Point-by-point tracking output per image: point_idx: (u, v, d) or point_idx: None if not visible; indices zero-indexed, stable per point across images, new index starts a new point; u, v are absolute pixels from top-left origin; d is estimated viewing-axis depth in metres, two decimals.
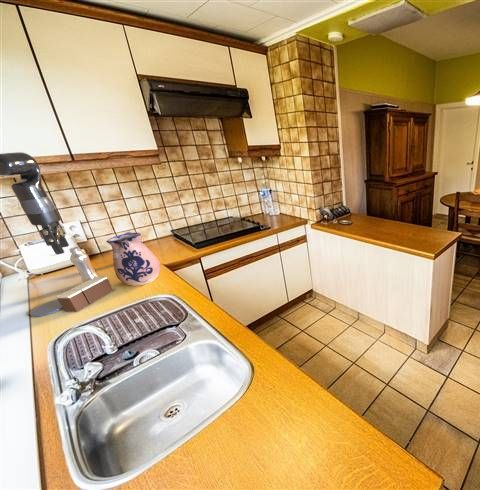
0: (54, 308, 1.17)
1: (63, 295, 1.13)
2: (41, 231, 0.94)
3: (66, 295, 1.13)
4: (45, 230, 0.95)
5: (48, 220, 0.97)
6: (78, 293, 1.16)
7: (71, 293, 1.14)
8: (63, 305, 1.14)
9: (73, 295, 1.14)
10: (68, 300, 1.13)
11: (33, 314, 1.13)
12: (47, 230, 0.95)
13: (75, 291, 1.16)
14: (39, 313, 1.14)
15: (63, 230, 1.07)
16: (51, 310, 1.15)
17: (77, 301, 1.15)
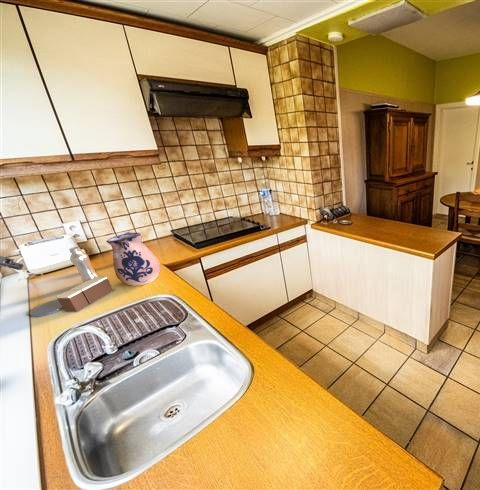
0: (54, 308, 1.17)
1: (63, 295, 1.13)
2: None
3: (66, 295, 1.13)
4: None
5: None
6: (78, 293, 1.16)
7: (71, 293, 1.14)
8: (63, 305, 1.14)
9: (73, 295, 1.14)
10: (68, 300, 1.13)
11: (33, 314, 1.13)
12: None
13: (75, 291, 1.16)
14: (39, 313, 1.14)
15: (5, 264, 0.91)
16: (51, 310, 1.15)
17: (77, 301, 1.15)
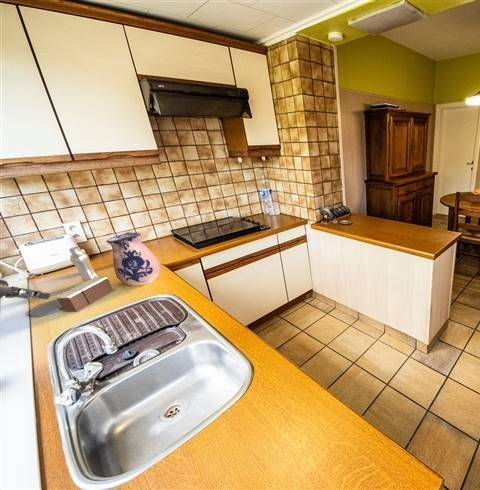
0: (54, 308, 1.17)
1: (63, 295, 1.13)
2: None
3: (66, 295, 1.13)
4: None
5: None
6: (78, 293, 1.16)
7: (71, 293, 1.14)
8: (63, 305, 1.14)
9: (73, 295, 1.14)
10: (68, 300, 1.13)
11: (33, 314, 1.13)
12: None
13: (75, 291, 1.16)
14: (39, 313, 1.14)
15: (33, 297, 0.98)
16: (51, 310, 1.15)
17: (77, 301, 1.15)
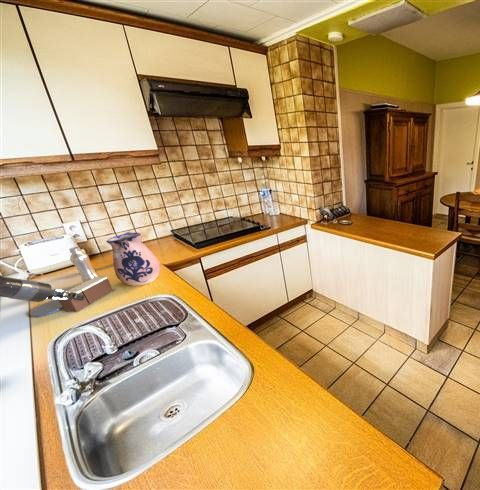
0: (54, 308, 1.17)
1: None
2: None
3: None
4: None
5: None
6: (78, 293, 1.16)
7: None
8: (63, 305, 1.14)
9: None
10: (68, 300, 1.13)
11: (33, 314, 1.13)
12: None
13: (75, 291, 1.16)
14: (39, 313, 1.14)
15: (72, 298, 1.11)
16: (51, 310, 1.15)
17: (77, 301, 1.15)
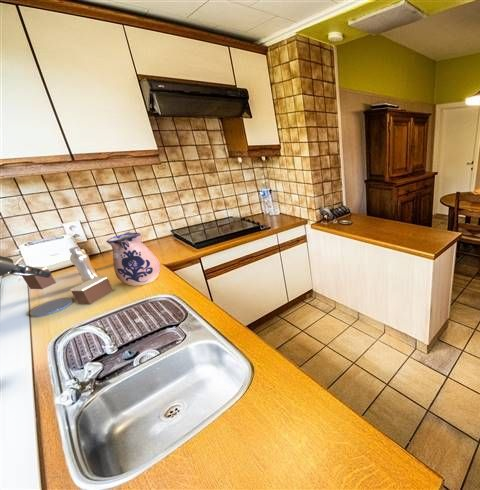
0: (54, 308, 1.17)
1: None
2: None
3: None
4: None
5: None
6: (44, 270, 1.12)
7: None
8: (27, 282, 1.11)
9: None
10: (32, 276, 1.09)
11: (33, 314, 1.13)
12: None
13: (40, 268, 1.12)
14: (39, 313, 1.14)
15: (36, 274, 1.07)
16: (51, 310, 1.15)
17: (43, 278, 1.12)
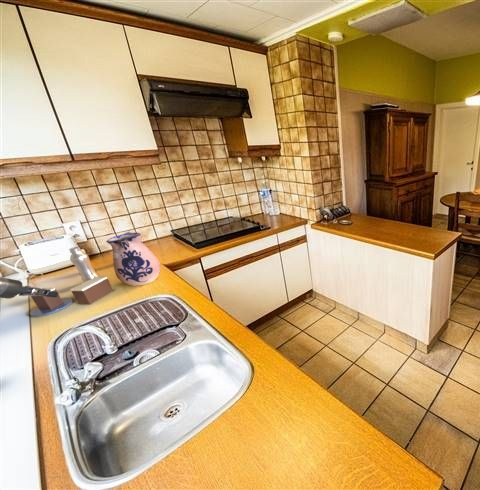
0: (54, 308, 1.17)
1: None
2: None
3: None
4: None
5: None
6: None
7: None
8: (36, 303, 1.15)
9: None
10: (41, 298, 1.14)
11: (33, 314, 1.13)
12: None
13: (49, 289, 1.17)
14: (39, 313, 1.14)
15: (44, 295, 1.11)
16: (51, 310, 1.15)
17: (51, 299, 1.16)
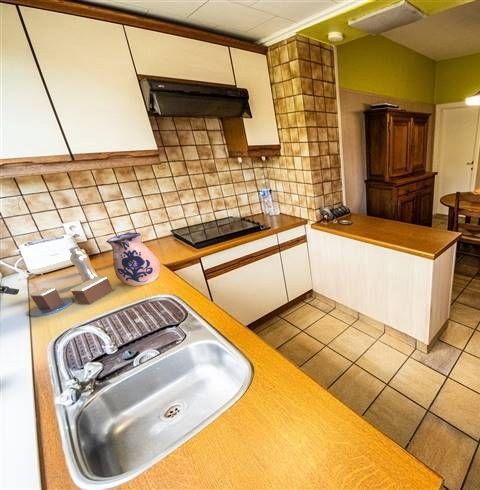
0: (54, 308, 1.17)
1: (36, 293, 1.14)
2: None
3: (39, 293, 1.14)
4: None
5: None
6: (52, 291, 1.17)
7: (45, 291, 1.15)
8: (36, 303, 1.15)
9: (46, 293, 1.15)
10: (41, 298, 1.14)
11: (33, 314, 1.13)
12: None
13: (49, 289, 1.17)
14: (39, 313, 1.14)
15: (0, 292, 0.99)
16: (51, 310, 1.15)
17: (51, 299, 1.16)
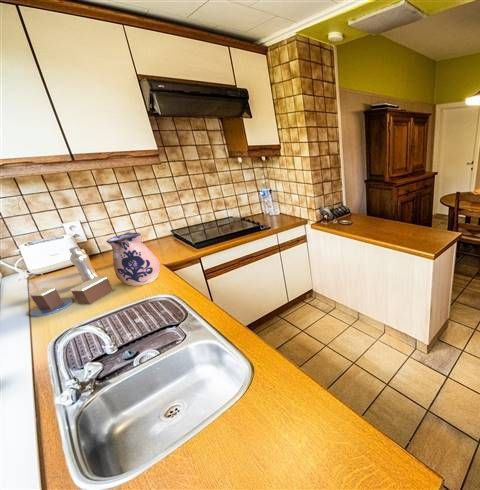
0: (54, 308, 1.17)
1: (36, 293, 1.14)
2: None
3: (39, 293, 1.14)
4: None
5: None
6: (52, 291, 1.17)
7: (45, 291, 1.15)
8: (36, 303, 1.15)
9: (46, 293, 1.15)
10: (41, 298, 1.14)
11: (33, 314, 1.13)
12: None
13: (49, 289, 1.17)
14: (39, 313, 1.14)
15: None
16: (51, 310, 1.15)
17: (51, 299, 1.16)
